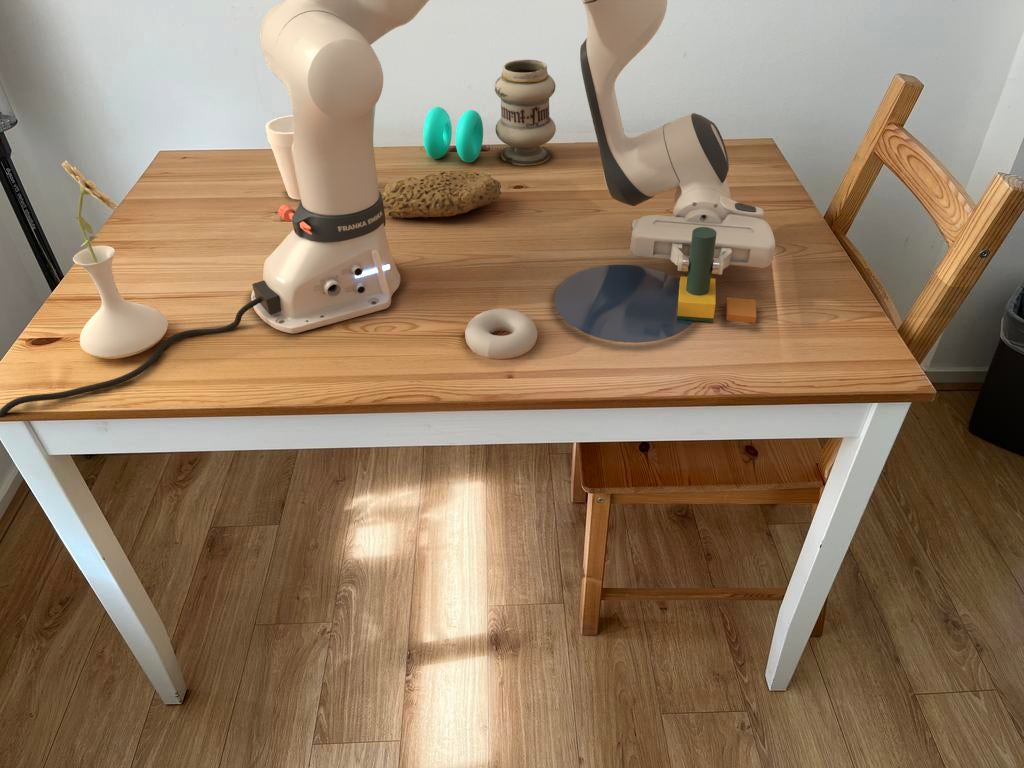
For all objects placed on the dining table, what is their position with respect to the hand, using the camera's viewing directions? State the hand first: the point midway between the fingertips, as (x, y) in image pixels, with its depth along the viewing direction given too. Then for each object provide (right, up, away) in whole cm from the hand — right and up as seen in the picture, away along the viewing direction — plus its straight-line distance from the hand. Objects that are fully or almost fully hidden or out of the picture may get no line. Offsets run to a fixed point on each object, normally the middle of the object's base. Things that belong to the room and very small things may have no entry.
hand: (700, 268), depth 106 cm
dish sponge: (0, -5, +5) cm, 7 cm away
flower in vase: (-80, -10, +2) cm, 81 cm away
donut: (-27, -11, 0) cm, 29 cm away
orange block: (+7, -6, +5) cm, 10 cm away
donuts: (-38, +30, +51) cm, 70 cm away
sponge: (-38, +15, +33) cm, 53 cm away
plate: (-9, -4, +7) cm, 13 cm away
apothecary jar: (-23, +31, +51) cm, 64 cm away
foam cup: (-65, +20, +39) cm, 79 cm away
